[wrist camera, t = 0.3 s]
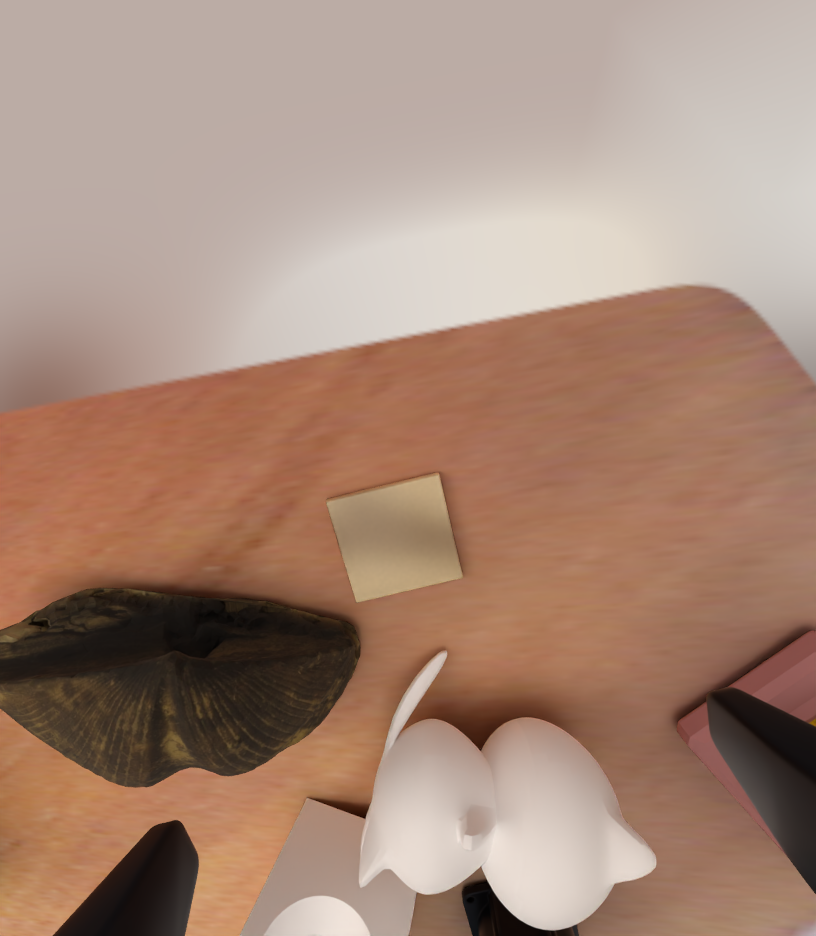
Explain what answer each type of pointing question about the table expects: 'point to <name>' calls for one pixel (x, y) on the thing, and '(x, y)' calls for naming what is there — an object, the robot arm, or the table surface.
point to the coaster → (395, 537)
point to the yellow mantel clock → (774, 681)
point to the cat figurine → (499, 815)
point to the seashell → (172, 680)
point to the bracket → (328, 884)
